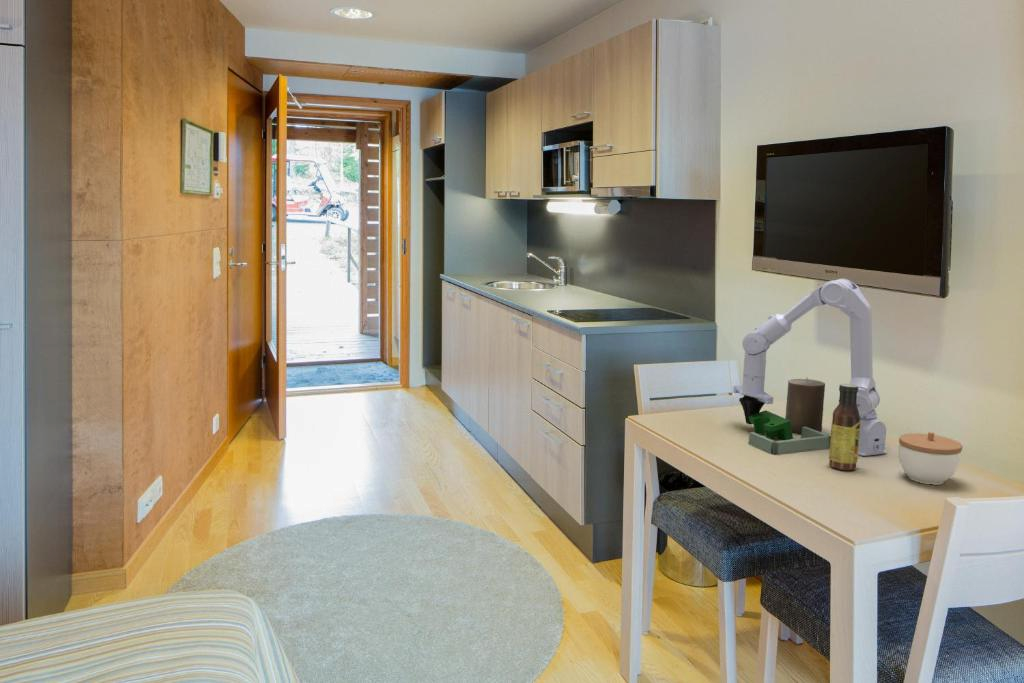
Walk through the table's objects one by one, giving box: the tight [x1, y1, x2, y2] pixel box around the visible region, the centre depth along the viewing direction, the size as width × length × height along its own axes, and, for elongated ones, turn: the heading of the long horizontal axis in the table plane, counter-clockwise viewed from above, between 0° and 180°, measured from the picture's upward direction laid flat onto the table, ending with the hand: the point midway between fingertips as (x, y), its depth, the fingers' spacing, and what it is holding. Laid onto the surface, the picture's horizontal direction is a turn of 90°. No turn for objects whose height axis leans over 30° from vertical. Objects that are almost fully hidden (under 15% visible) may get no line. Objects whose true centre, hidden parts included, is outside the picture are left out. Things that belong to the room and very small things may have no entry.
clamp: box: [749, 409, 794, 441], centre depth 209 cm, size 12×6×9 cm, turn 10°
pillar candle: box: [784, 377, 826, 435], centre depth 216 cm, size 10×10×15 cm
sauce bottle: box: [828, 383, 861, 471], centre depth 184 cm, size 7×6×20 cm
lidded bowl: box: [898, 431, 963, 486], centre depth 177 cm, size 13×13×11 cm
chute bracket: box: [748, 427, 831, 456], centre depth 201 cm, size 10×18×3 cm, turn 112°
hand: (750, 423), depth 216 cm, fingers closed
